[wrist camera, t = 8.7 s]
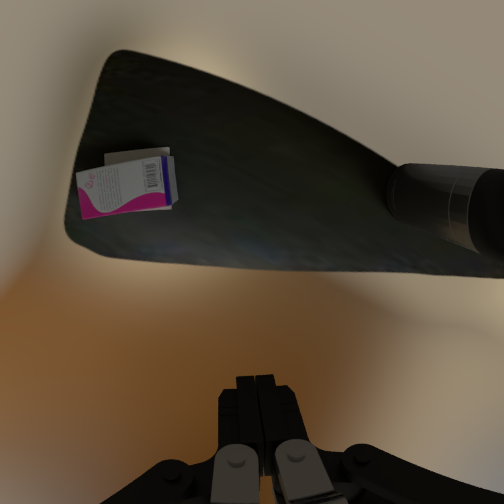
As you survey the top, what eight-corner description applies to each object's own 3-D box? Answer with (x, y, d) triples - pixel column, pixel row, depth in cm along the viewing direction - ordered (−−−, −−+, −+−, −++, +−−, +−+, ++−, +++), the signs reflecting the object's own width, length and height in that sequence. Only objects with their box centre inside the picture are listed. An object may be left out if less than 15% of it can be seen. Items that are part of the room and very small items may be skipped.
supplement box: (174, 156, 36) (93, 170, 35) (166, 154, 30) (73, 171, 29) (179, 201, 37) (98, 212, 36) (172, 207, 32) (80, 220, 31)
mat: (169, 147, 35) (169, 146, 35) (171, 208, 38) (171, 209, 37) (105, 153, 35) (104, 153, 34) (108, 212, 37) (107, 213, 37)
